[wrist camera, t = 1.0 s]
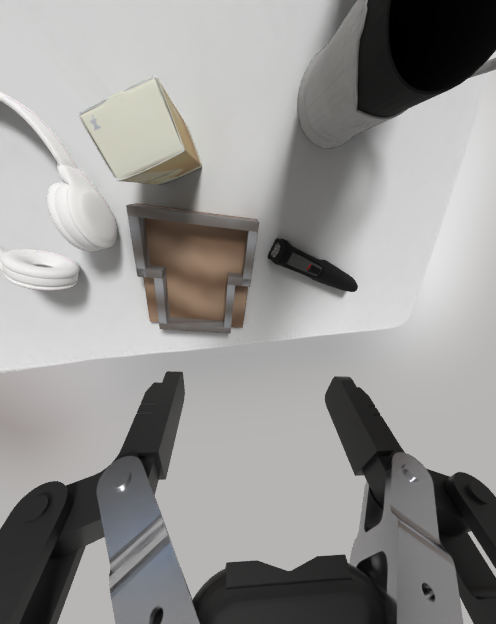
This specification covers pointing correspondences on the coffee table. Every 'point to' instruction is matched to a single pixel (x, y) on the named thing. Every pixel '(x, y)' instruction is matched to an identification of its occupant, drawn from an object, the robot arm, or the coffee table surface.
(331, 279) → the electric trimmer
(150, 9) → the coffee table surface
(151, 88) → the skincare box
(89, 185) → the headphones
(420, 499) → the robot arm
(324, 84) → the glass holder
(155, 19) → the coffee table surface
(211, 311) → the keyhole board
